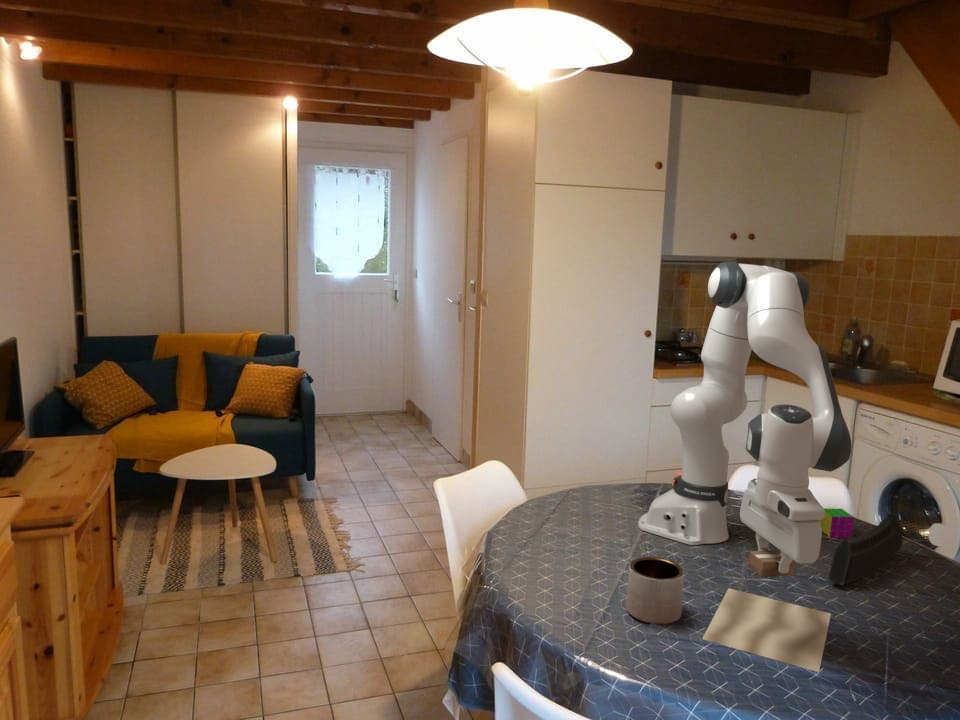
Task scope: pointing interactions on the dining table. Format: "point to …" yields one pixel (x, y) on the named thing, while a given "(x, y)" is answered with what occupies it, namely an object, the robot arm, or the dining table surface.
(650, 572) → the planter
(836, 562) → the dark grey curved slab
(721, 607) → the cork mat
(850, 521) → the puzzle toy
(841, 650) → the dining table surface
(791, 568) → the brown small block
